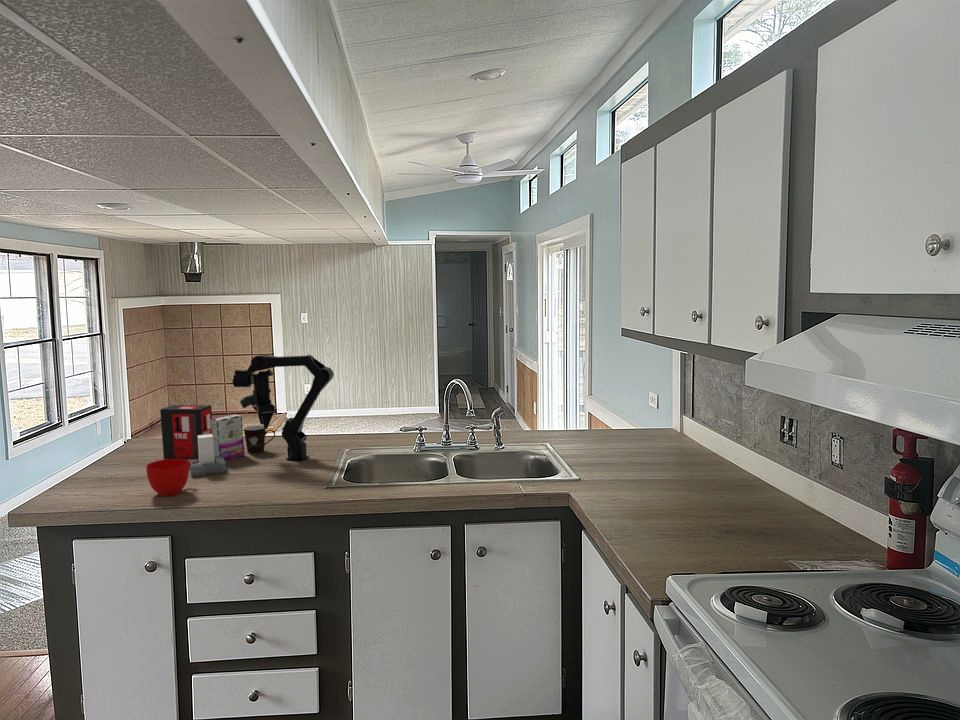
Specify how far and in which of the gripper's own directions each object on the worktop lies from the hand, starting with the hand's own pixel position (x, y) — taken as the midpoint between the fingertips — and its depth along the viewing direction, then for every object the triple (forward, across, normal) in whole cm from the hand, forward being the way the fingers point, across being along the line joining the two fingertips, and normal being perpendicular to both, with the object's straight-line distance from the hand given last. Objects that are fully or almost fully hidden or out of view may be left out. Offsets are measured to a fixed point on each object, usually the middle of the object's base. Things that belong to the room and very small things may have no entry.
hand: (263, 426), depth 273 cm
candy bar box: (+13, -10, -12) cm, 21 cm away
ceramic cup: (+13, +28, -34) cm, 46 cm away
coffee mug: (+13, -13, 0) cm, 19 cm away
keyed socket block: (+13, +6, -22) cm, 26 cm away
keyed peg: (+13, +6, -22) cm, 26 cm away
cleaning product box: (+13, -20, -26) cm, 36 cm away
